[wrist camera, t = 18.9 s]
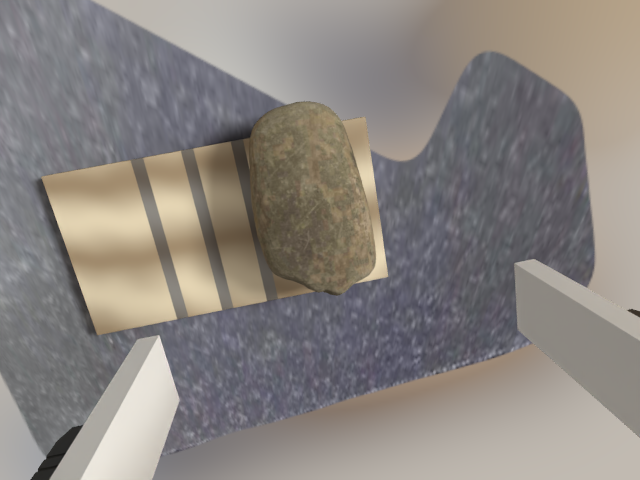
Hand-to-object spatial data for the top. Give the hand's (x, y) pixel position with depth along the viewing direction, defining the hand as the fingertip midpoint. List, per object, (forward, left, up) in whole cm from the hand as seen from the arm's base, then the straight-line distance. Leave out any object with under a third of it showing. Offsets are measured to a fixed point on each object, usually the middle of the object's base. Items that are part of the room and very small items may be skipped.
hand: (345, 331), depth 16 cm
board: (0, -7, -23) cm, 24 cm away
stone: (-1, 0, -22) cm, 22 cm away
